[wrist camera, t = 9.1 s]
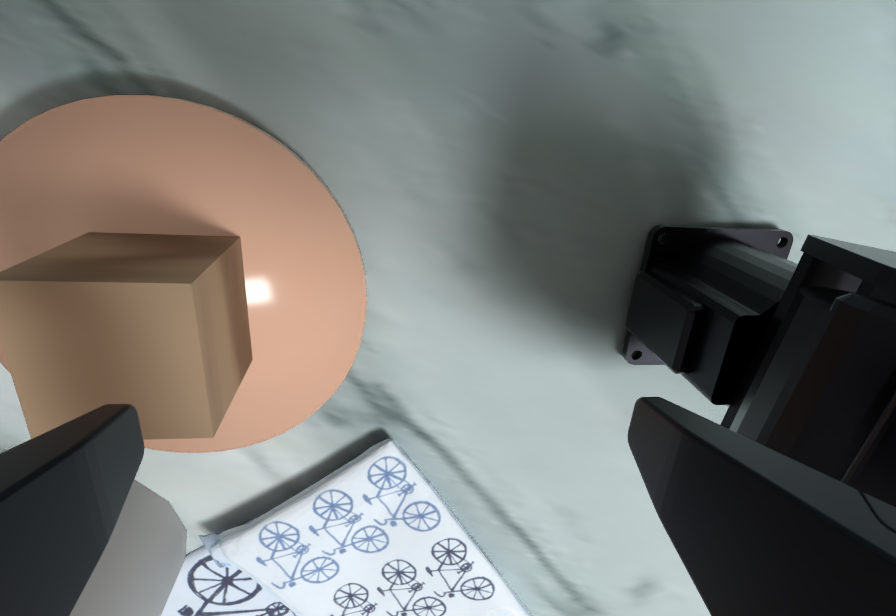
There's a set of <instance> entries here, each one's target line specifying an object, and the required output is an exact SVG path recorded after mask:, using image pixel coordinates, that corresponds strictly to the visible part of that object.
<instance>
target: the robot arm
mask: <svg viewBox="0 0 896 616" xmlns="http://www.w3.org/2000/svg"><path fill="white" fill-rule="evenodd" d="M662 233H665V237H664V239H663V240H662V241H660V242H658V238H659V236H660V235H661V234H662ZM780 238H781V241H780V243H779V244H777V241H778V239H780ZM792 243H793V236H792V234H791V233H790V232H787V231H784V230H781V229H766V228H739V227H713V226H687V225H657V226H655V227H653V228H652V230H651V231H650V232H649V235H648V238H647V243H646V247H645V252H644V256H643V261H642V265H641V270H640V273H639V274H638V275H637V276H636V280H635V284H634V289H633V294H632V298H631V303H630V307H629V312H628V316H627V321H626V327H627V333H626V337H625V342H624V346H623V351H622V355H623V357H624V359H625V360H626V361H627V362H628V363H630V364H633V365H666V366H667V367H668V368H669V369H670V370H671V371H672V372H674V373H676V374H681V375H682V376H683V377H684V378H685V379H687V380H688V381H689V382H690V383H691V384H692V385H693V386H694V387H695V388H696V389H697V390H699V391H700V392H701V393H702V394H703V395H704V396H705V397H706V398H707V399H708V400H709V401H710V402H712V403H713V404H715V405H727V406H728V407H729V408H728V410H727V412H726V414H725V416H724V419H723V421H722V423H721V425H719V424H717V423H714V422H712V421H710V420H708V419H706V418H704V417H702V416H699V415H697V414H695V413H693V412H691V411H689V410H687V409H684V408H682V407H680V406H678V405H676V404H674V403H672V402H669V401H667V400H665V399H663V398H661V397H641V398H639V399H638V400H637V401H636V403H635V406H634V410H633V414H632V418H631V422H630V426H629V430H628V443H629V446H630V449H631V451H632V454H633V456H634V459H635V461H636V463H637V466H638V468H639V471H640V473H641V476H642V478H643V481H644V483H645V485H646V488H647V490H648V493H649V495H650V498H651V500H652V503H653V505H654V507H655V509H656V512H657V514H658V516H659V518H660V520H661V522H662V524H663V526H664V528H665V530H666V532H667V534H668V536H669V537H670V539H671V541H672V543H673V545H674V547H675V549H676V551H677V552H678V554H679V556H680V558H681V560H682V562H683V564H684V566H685V567H686V569H687V571H688V573H689V575H690V577H691V579H692V580H693V582H694V584H695V586H696V588H697V590H698V592H699V594H700V595H701V597H702V599H703V601H704V603H705V605H706V607H707V609H708V610H709V612H710V614H711V616H896V252H892V251H888V250H883V249H878V248H873V247H868V246H863V245H858V244H853V243H848V242H843V241H838V240H834V239H829V238H824V237H819V236H814V235H808V236H807V238H806V240H805V242H804V244H803V246H802V248H801V251H803V252H804V253H803V255H802V257H801V259H800V261H799V263H798V264H796V263H794V262H791V261H789V260H787V258H788V255H789V252H790V249H791V246H792ZM636 350H638V351H637V353H636V354H635V355H634V356H631V355H632V353H633V352H634V351H636ZM143 454H144V441H143V436H142V431H141V426H140V421H139V416H138V412H137V409H136V408H135V406H133V405H132V404H106V405H103V406H101V407H99V408H96V409H94V410H92V411H90V412H88V413H86V414H84V415H82V416H79V417H77V418H75V419H73V420H71V421H69V422H67V423H65V424H62V425H60V426H58V427H56V428H54V429H52V430H50V431H48V432H45V433H43V434H41V435H39V436H37V437H35V438H33V439H31V440H28V441H26V442H24V443H22V444H20V445H18V446H16V447H14V448H11V449H9V450H7V451H5V452H3V453H1V454H0V616H70V614H71V612H72V610H73V609H74V607H75V605H76V603H77V601H78V599H79V597H80V595H81V594H82V592H83V590H84V588H85V586H86V584H87V582H88V580H89V579H90V577H91V575H92V573H93V571H94V569H95V567H96V565H97V564H98V562H99V560H100V558H101V556H102V554H103V552H104V550H105V548H106V546H107V544H108V542H109V540H110V538H111V535H112V533H113V531H114V528H115V526H116V524H117V521H118V519H119V516H120V514H121V511H122V509H123V506H124V504H125V501H126V499H127V496H128V494H129V491H130V489H131V486H132V484H133V481H134V479H135V476H136V474H137V471H138V469H139V466H140V464H141V461H142V458H143Z"/></svg>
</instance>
